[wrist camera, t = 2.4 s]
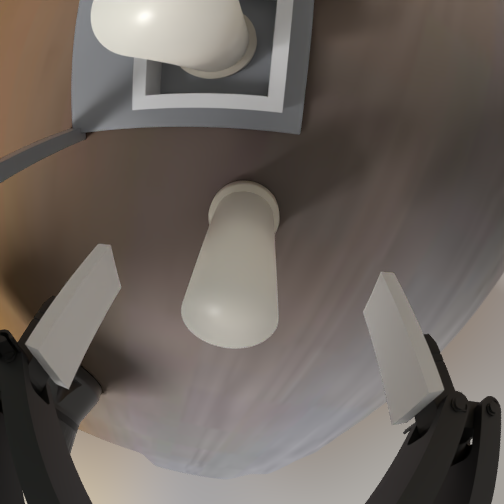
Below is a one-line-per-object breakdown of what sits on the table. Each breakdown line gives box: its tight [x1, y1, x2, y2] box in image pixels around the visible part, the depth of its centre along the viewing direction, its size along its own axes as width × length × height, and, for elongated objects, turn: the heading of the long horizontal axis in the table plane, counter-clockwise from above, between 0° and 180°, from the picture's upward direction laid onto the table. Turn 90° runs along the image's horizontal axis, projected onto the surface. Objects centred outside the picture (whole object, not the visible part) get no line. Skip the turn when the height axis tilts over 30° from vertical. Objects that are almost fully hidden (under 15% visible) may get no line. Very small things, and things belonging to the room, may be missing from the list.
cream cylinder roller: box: [181, 180, 279, 348], centre depth 15 cm, size 5×5×10 cm
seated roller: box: [91, 0, 257, 79], centre depth 8 cm, size 5×5×10 cm
